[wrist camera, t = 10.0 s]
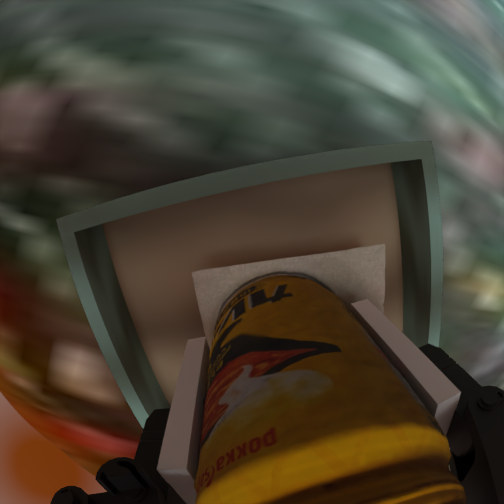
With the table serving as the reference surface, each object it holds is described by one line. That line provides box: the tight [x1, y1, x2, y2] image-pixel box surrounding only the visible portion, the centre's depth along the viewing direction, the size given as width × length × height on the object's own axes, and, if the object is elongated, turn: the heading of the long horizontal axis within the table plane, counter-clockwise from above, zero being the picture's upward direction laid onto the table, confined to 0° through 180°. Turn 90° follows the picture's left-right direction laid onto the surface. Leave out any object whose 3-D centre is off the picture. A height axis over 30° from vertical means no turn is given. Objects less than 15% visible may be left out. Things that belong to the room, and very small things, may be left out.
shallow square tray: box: [56, 141, 443, 428], centre depth 17 cm, size 15×17×8 cm
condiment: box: [192, 244, 466, 504], centre depth 7 cm, size 7×8×12 cm
